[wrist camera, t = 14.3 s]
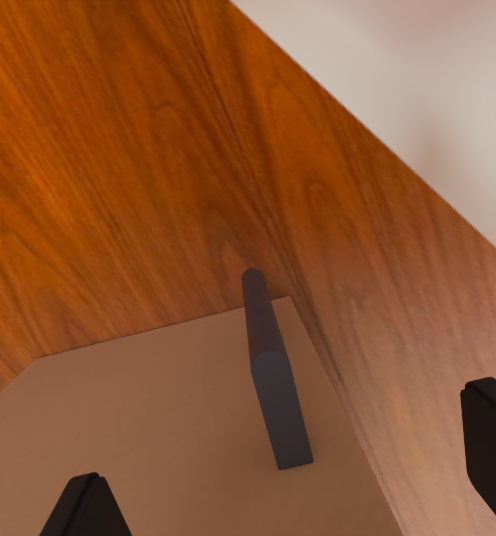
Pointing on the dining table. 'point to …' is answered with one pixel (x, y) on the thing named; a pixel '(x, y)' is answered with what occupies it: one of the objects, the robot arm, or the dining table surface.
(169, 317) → the dining table surface
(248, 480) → the cupboard door
